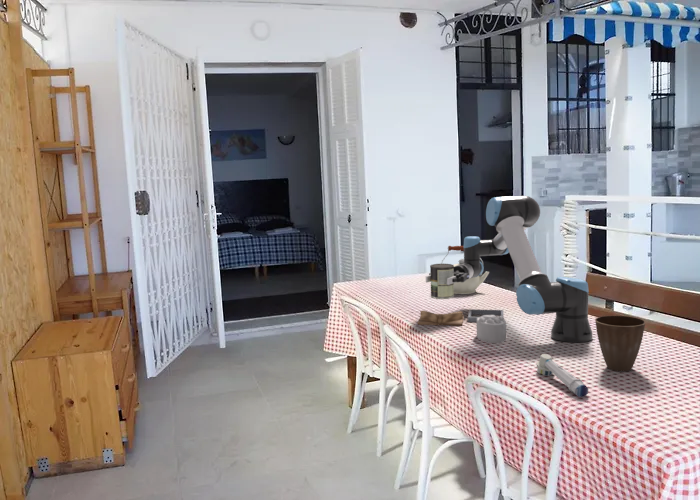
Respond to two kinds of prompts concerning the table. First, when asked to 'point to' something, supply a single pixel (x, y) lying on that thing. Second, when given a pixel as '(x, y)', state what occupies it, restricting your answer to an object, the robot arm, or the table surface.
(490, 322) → the lumpy-topped squat cylinder
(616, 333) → the plant pot
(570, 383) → the toothbrush head
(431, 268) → the coffee can
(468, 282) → the kettle
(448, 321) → the brown flat cloth piece
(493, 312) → the gray square tray
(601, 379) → the table surface
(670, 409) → the table surface
